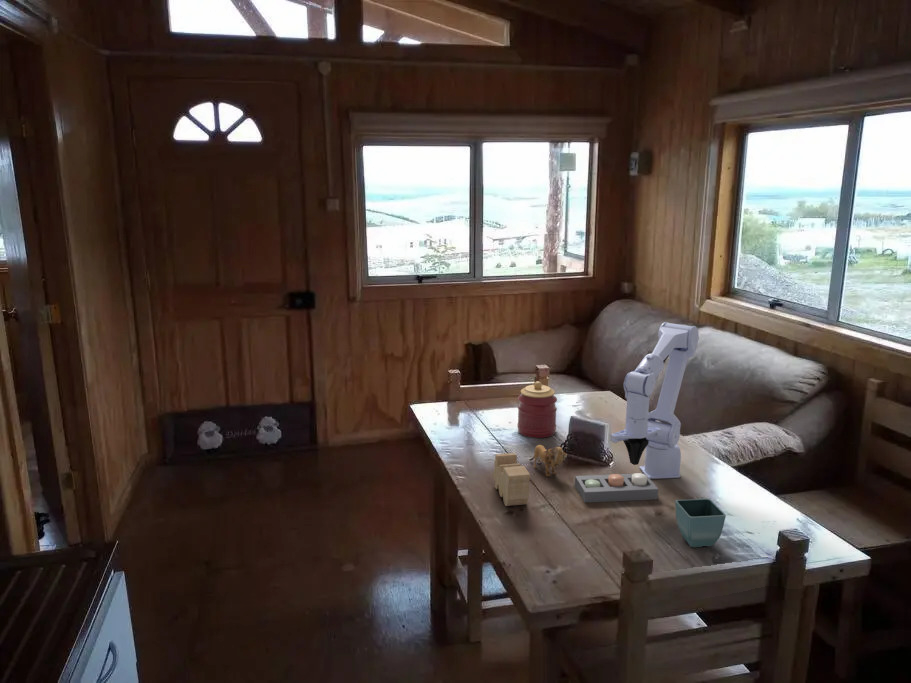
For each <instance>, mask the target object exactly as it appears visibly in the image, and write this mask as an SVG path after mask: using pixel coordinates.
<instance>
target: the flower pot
mask: <svg viewBox="0 0 911 683" xmlns="http://www.w3.org/2000/svg"><path fill="white" fill-rule="evenodd" d="M674 501H675V502H674V504H675V517H676V518H675V519H676V523H677V524H676V525H677V527H678V529H679V532H680V534H681V536H682V537H683V539H684V540H685V541H686V542H687V544H688V545H689V547H691V548H703V547H702V546H707V547H712V546H714V545H715V544H716V543H717V541H718V540H719V538H720V537H721V535H722V533H723V528H724V525H725V521H726V517H727V515H726V513H725V512H724V511H723V510H722V509H720V507H719V506H717V504H716V503H715V502H713V500H712V499H711V498H696V499H695V498H693V499H676V500H674Z"/></svg>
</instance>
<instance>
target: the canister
mask: <svg viewBox="0 0 911 683" xmlns="http://www.w3.org/2000/svg"><path fill="white" fill-rule="evenodd" d="M555 392H556V391H555V390H554V389H553V388H551V387H550V386H548V385H544V384H542V382H541V381H538V380H537V381H535V382H534V383H533V384H530V385H527V386H525V387H523V388H522V389H521V390H520V393H521V394H520V395H519V396H518V397H517V399H518V401H519V404H518V405H517V410H518V411H517V412H518V414H517V427H516V428H517V431H518V433H519V434H521V436H524V437H529V438H533V439H535V438H536V439H540V438H541V439H543V438H549V437H552V436H554V435H555V433H556V430H557V424H556V423H557V422H556V421H557V410H558V408H557V406H556V403H557V402H558V397H556V396H555Z"/></svg>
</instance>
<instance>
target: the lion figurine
mask: <svg viewBox="0 0 911 683" xmlns="http://www.w3.org/2000/svg"><path fill="white" fill-rule="evenodd" d="M533 454H534V455H533V457H531V458H529V459H528V461H531V462H532V461H533V460H534V462H533V468H534V469H538V468H539V467H538V464H541V463H544V465H545V476H546V477H551V474H553V475H556V474H557V472H556V470H555V468H556V467H558V466H559V465H561V464H562V463H563V461H566V459H567V456H568V454H567V453H566V452H564V450H563V447H561V446H554V447H552V448H547V449H546V448H545V446H544V445H542V444H538V445H536V446H535V448H534V453H533ZM537 463H538V464H537ZM550 468H551V469H550ZM550 471H551V474H550Z"/></svg>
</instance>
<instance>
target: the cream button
mask: <svg viewBox="0 0 911 683" xmlns="http://www.w3.org/2000/svg"><path fill="white" fill-rule="evenodd" d="M641 473H642V472H640V473H639V472H638V473H637V472H635V473H631V474H632V482H631V483H632V485H633V486H640V485H647V476H646V475H644V474H641Z"/></svg>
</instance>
